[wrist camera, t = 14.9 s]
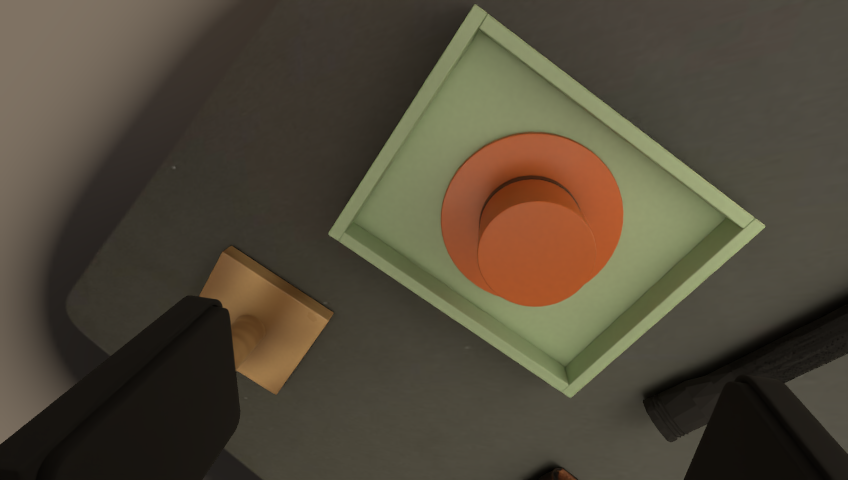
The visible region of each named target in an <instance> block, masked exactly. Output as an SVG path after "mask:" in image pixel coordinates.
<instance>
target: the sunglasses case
mask: <svg viewBox="0 0 848 480" xmlns="http://www.w3.org/2000/svg"><path fill="white" fill-rule="evenodd" d="M538 480H577V479H576V478H575V477H574V476H572V475H571V474H570V473H568V472H567V471H566V470H565V469H563V468H555V469H554V470H553V471H551V472H550V473H546V474H545V475H543V476H542V477H540V478H539V479H538Z"/></svg>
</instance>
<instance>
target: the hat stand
mask: <svg viewBox="0 0 848 480" xmlns="http://www.w3.org/2000/svg"><path fill="white" fill-rule="evenodd" d="M199 297H205V298H212V299H217V300H219V301H220V302H221V303H222V306H223V308H226V309H228V311H229V314H230V321H231V331H232V340H233V349H234V359H235V368H236V370H237V371H239V372H240V373H242V374H243V375H245V376H247V377H248V378H250V379H251V380H253V381H255V382H256V383H258V384H259V385H261V386H262V387H264V388H266V389H267V390H269V391H270V392H272V393H274V394H275V395H276V394H277V393H278V392H279V390H280V389H281V388H282V386H283V385H284V383H285V382H286V381H287V379H288V378H289V376H290V375H291V374H292V372H293V371H294V369H295V368H296V366H297V365H298V364H299V362H300V361H301V359H302V358H303V357H304V355H305V354H306V352H307V351H308V350H309V348H310V347H311V345H312V344H313V343H314V341H315V340H316V338H317V337H318V336H319V334H320V333H321V331H322V330H323V329H324V327H325V326H326V324H327V323H328V321H329V320H330V318H331V317H332V315H333V312H332V311H330V310H329V309H327V308H326V307H324V306H323V305H321V304H320V303H318V302H316V301H315V300H313V299H312V298H310V297H309V296H307V295H306V294H304V293H303V292H301V291H300V290H298V289H297V288H295V287H294V286H292V285H291V284H289V283H288V282H286V281H285V280H283V279H281V278H280V277H278V276H277V275H275V274H274V273H272V272H271V271H269V270H268V269H266V268H265V267H263V266H262V265H260V264H259V263H257V262H256V261H254V260H253V259H251V258H250V257H248V256H247V255H245V254H243V253H242V252H240V251H239V250H237V249H236V248H234V247H233V246H230V247H229V248H227V249H226V250H224V251H223V252H222V254H221V255H220V257H219V259H218V261H217V263H216V265H215V267H214V269H213V271H212V273H211V274H210V276H209V278H208V280H207V282H206V284H205V286H204V288H203V290H202V292H201V294H200V295H199Z"/></svg>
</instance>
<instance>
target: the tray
mask: <svg viewBox="0 0 848 480" xmlns="http://www.w3.org/2000/svg"><path fill="white" fill-rule="evenodd" d="M523 132H546V133H553V134H558V135H561V136H564V137H567V138H570V139H572V140H574V141H576V142H579V143H580V144H582V145H584V146H585V147H587V148H588V149H590V150H591V151H592V152H593V153H594V154H596V155H597V156H598V157H599V158H600V159H601V160H602V161H603V163H604V164H605V165H606V166H607V167H608V168H609V170H610V172H611V173H612V175H613V176H614V178H615V180H616V182H617V185H618V187H619V190H620V193H621V197H622V202H623V211H624V213H623V226H622V232H621V236H620V239H619V242H618V245H617V247H616V249H615V251H614V253H613V255H612V256H611V258H610V259H609V261H608V262H607V264H606V265H605V266H604V267H603V268H602V270H601V271H600V272H599V273H598V274H597V275H596V276H595V277H593V278H592V279H591V280H590V281H589V282H587V283H586V284H584V285H583V286H582V287H581V289H579V290H578V291H577V292H576V293H575V294H573V295H572V296H571V297H569V298H567V299H565V300H563V301H561V302H559V303H556V304H552V305H548V306H542V307H530V306H522V305H518V304H515V303H512V302H510V301H507V300H505V299H504V298H502V297H499V296H496V295H493V294H491V293H489V292H487V291H485V290H483V289H481V288H480V287H478V286H476V285H475V284H474V283H472V282H471V281H470V280H469V279H467V278H466V277H465V276H464V275H463V274H462V273H461V272H460V270H459V269H458V268H457V267H456V265H455V264H454V263H453V261H452V259H451V257H450V256H449V254H448V251H447V249H446V246H445V244H444V240H443V236H442V230H441V210H442V203H443V200H444V196H445V193H446V190H447V188H448V186H449V184H450V181H451V179H452V178H453V176H454V175H455V173H456V171H457V170H458V169H459V167H460V166H461V165H462V164H463V163H464V162H465V160H467V159H468V158H469V157H470V156H471V155H472V154H473V153H474V152H476V151H477V150H479V149H480V148H481V147H483V146H485V145H486V144H488V143H490V142H492V141H494V140H496V139H499V138H502V137H505V136H508V135H512V134H516V133H523ZM764 228H765V225H764V224H762V223H761V222H760V221H758V220H757V219H756V218H754V217H753V216H752V215H751V214H749V213H748V212H747V211H745V210H744V209H743V208H741V207H740V206H739V205H738V204H736V203H735V202H734V201H732V200H731V199H730V198H728V197H727V196H726V195H724V194H723V193H722V192H721V191H719V190H718V189H717V188H715V187H714V186H713V185H711V184H710V183H709V182H707V181H706V180H705V179H704V178H702V177H701V176H700V175H698V174H697V173H696V172H694V171H693V170H692V169H690V168H689V167H688V166H687V165H685V164H684V163H683V162H681V161H680V160H679V159H677V158H676V157H675V156H673V155H672V154H671V153H670V152H668V151H667V150H666V149H664V148H663V147H662V146H660V145H659V144H658V143H656V142H655V141H654V140H653V139H651V138H650V137H649V136H647V135H646V134H645V133H643V132H642V131H641V130H639V129H638V128H637V127H636V126H634V125H633V124H632V123H630V122H629V121H628V120H626V119H625V118H624V117H622V116H621V115H620V114H619V113H617V112H616V111H615V110H613V109H612V108H611V107H609V106H608V105H607V104H605V103H604V102H603V101H602V100H600V99H599V98H598V97H596V96H595V95H594V94H592V93H591V92H590V91H588V90H587V89H586V88H585V87H583V86H582V85H581V84H579V83H578V82H577V81H575V80H574V79H573V78H571V77H570V76H569V75H568V74H566V73H565V72H564V71H562V70H561V69H560V68H558V67H557V66H556V65H554V64H553V63H552V62H551V61H549V60H548V59H547V58H545V57H544V56H543V55H541V54H540V53H539V52H537V51H536V50H535V49H534V48H532V47H531V46H530V45H528V44H527V43H526V42H524V41H523V40H522V39H520V38H519V37H518V36H517V35H515V34H514V33H513V32H511V31H510V30H509V29H507V28H506V27H505V26H503V25H502V24H501V23H500V22H498V21H497V20H496V19H494V18H493V17H492V16H490V15H489V14H487V12H485V11H484V10H483V9H481V8H480V7H479V6H477V5H476V4H474V5H473V7H472V9H471V10H470V12H469V13H468V15H467V16H466V18H465V20H464V21H463V23H462V24H461V26H460V27H459V29H458V31H457V32H456V34H455V35H454V37H453V38H452V40H451V42H450V43H449V45H448V46H447V48H446V49H445V51H444V53H443V54H442V56H441V57H440V59H439V60H438V62H437V64H436V65H435V67H434V68H433V70H432V71H431V73H430V75H429V76H428V78H427V79H426V81H425V82H424V84H423V85H422V87H421V89H420V90H419V92H418V93H417V95H416V96H415V98H414V100H413V101H412V103H411V104H410V106H409V107H408V109H407V111H406V112H405V114H404V115H403V117H402V118H401V120H400V122H399V123H398V125H397V126H396V128H395V129H394V131H393V133H392V134H391V136H390V137H389V139H388V140H387V142H386V144H385V145H384V147H383V148H382V150H381V151H380V153H379V154H378V156H377V158H376V159H375V161H374V162H373V164H372V165H371V167H370V169H369V170H368V172H367V173H366V175H365V176H364V178H363V180H362V181H361V183H360V184H359V186H358V187H357V189H356V191H355V192H354V194H353V195H352V197H351V198H350V200H349V202H348V203H347V205H346V206H345V208H344V209H343V211H342V213H341V214H340V216H339V217H338V219H337V220H336V222H335V223H334V225H333V227H332V228H331V230H330V231H329V233H328V235H330V236H331V237H333V238H334V239H336V240H337V241H339V242H340V243H342V244H343V245H345V246H346V247H348V248H349V249H351V250H352V251H354V252H355V253H356V254H358V255H359V256H361V257H362V258H364V259H365V260H367V261H368V262H370V263H371V264H373V265H374V266H376V267H377V268H379V269H380V270H382V271H383V272H385V273H386V274H388V275H389V276H390V277H392V278H393V279H395V280H396V281H398V282H399V283H401V284H402V285H404V286H405V287H407V288H408V289H410V290H411V291H413V292H414V293H416V294H417V295H419V296H420V297H422V298H423V299H424V300H426V301H427V302H429V303H430V304H432V305H433V306H435V307H436V308H438V309H439V310H441V311H442V312H444V313H445V314H447V315H448V316H450V317H451V318H453V319H454V320H455V321H457V322H458V323H460V324H461V325H463V326H464V327H466V328H467V329H469V330H470V331H472V332H473V333H475V334H476V335H478V336H479V337H481V338H482V339H484V340H485V341H487V342H488V343H489V344H491V345H492V346H494V347H495V348H497V349H498V350H500V351H501V352H503V353H504V354H506V355H507V356H509V357H510V358H512V359H513V360H515V361H516V362H518V363H519V364H521V365H522V366H523V367H525V368H526V369H528V370H529V371H531V372H532V373H534V374H535V375H537V376H538V377H540V378H541V379H543V380H544V381H546V382H547V383H549V384H550V385H552V386H553V387H555V388H556V389H557V390H559V391H560V392H562V393H564V394H565V395H566V396H568V397H569V398H571V397H572V396H573V395H575V394H576V393H577V392H578V391H579V390H580V389H581V388H583V387H584V386H585V385H586V384H587V383H588V382H589V381H591V380H592V379H593V378H594V377H595V376H596V375H597V374H598V373H600V372H601V371H602V370H603V369H604V368H605V367H606V366H608V365H609V364H610V363H611V362H612V361H613V360H614V359H616V358H617V357H618V356H619V355H620V354H621V353H622V352H624V351H625V350H626V349H627V348H628V347H629V346H630V345H632V344H633V343H634V342H635V341H636V340H637V339H638V338H640V337H641V336H642V335H643V334H644V333H645V332H646V331H647V330H649V329H650V328H651V327H652V326H653V325H654V324H655V323H657V322H658V321H659V320H660V319H661V318H662V317H663V316H665V315H666V314H667V313H668V312H669V311H670V310H671V309H673V308H674V307H675V306H676V305H677V304H678V303H679V302H681V301H682V300H683V299H684V298H685V297H686V296H687V295H689V294H690V293H691V292H692V291H693V290H694V289H695V288H696V287H698V286H699V285H700V284H701V283H702V282H703V281H704V280H706V279H707V278H708V277H709V276H710V275H711V274H712V273H714V272H715V271H716V270H717V269H718V268H719V267H720V266H722V265H723V264H724V263H725V262H726V261H727V260H728V259H730V258H731V257H732V256H733V255H734V254H735V253H736V252H738V251H739V250H740V249H741V248H742V247H743V246H744V245H745V244H747V243H748V242H749V241H750V240H751V239H752V238H753V237H755V236H756V235H757V234H758V233H759V232H760V231H761V230H763V229H764Z"/></svg>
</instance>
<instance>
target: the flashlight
mask: <svg viewBox="0 0 848 480" xmlns="http://www.w3.org/2000/svg"><path fill="white" fill-rule="evenodd" d="M845 353H846V354H848V304H846V305H844V306H843V307H840V308H838V309H837V310H834V311H832V312H830V313H828V314H827V315H824V316H822V317H820V318H819V319H816V320H815V321H812V322H811V323H809V324H806V325H805V326H803V327H801V328H798V329H797V330H795V331H793V332H791V333H789V334H787V335H785V336H783V337H781V338H779V339H777V340H775V341H773V342H771V343H769V344H767V345H765V346H763V347H762V348H759V349H757V350H755V351H753V352H751V353H748V354H747V355H745V356H743V357H742V358H739V359H737V360H735V361H733V362H731V363H729V364H727V365H726V366H723V367H721V368H720V369H718V370H716V371H714V372H712V373H710V374H708V375H707V376H703V377H699V378H695V379H691V380H687V381H684V382H683V383H681V384H678V385H676V386H674V387H672V388H670V389H668V390H666V391H664V392H661V393H659V394H655V396H652V397H649V398H647V399H645V400H643V403H644V406H645V409H646V411H647V413H648V415H649V416H650V418H651V420H652V421H653V423H654V424H655V426H656V427H657V429H658V430H659V431H660V433H661V434H662V435H663V436H664V437H665V439H666V440H667V441H669V442H673V441H675V440H677V437H681V436H685V434H688V433H689V432H691V431H693V430H695V429H698V428H700V427H702V426H704V425H706V424H708V422H709V420H710V417H711V415H712V413H713V410H714V408H715V406H716V403H717V401H718V398H719V396H720V394H721V391H722V389H723V387H724V385H725V384H726V383H727V382H730V381H734V380H735V378H737V377H738V376H739V375H750V376H757V377H764V378H771V379H777V380H780V381H782V382H783V383H786V382H788V381H789V380H792V379H794V378H795V377H798V376H801V375H803V374H804V372H805V373H807V372H809V370H813V369H814V368H818V367H820V366H822V364H823V365H824V364H827V363H829V361H830V360H832V359H833V360H835V359H837V358H838V357H841V355H843V356H844V355H845ZM834 358H835V359H834ZM833 360H832V361H833ZM830 362H831V361H830ZM800 374H801V375H800Z"/></svg>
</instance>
